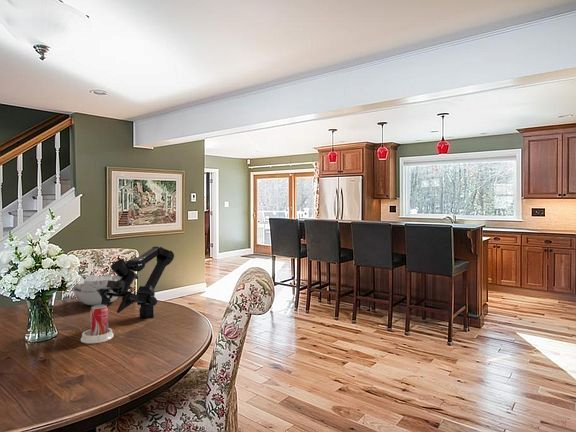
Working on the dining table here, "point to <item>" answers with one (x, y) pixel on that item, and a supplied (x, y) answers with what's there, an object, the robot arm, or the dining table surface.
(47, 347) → the dining table surface
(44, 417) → the dining table surface
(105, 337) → the white ring
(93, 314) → the soda can
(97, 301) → the decorative bowl
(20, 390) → the dining table surface
